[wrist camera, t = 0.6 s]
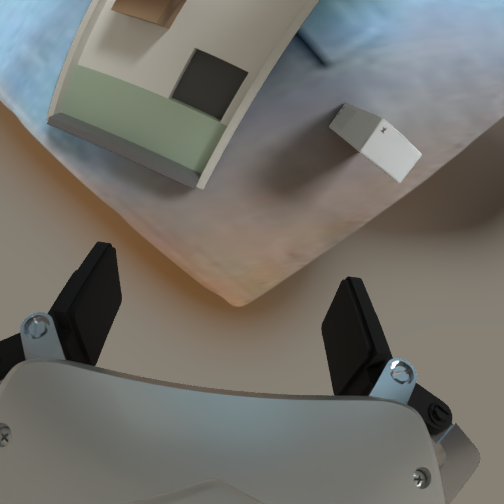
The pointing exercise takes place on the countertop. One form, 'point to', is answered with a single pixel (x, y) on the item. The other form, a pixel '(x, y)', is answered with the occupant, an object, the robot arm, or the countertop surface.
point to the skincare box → (376, 140)
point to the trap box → (171, 80)
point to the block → (150, 10)
